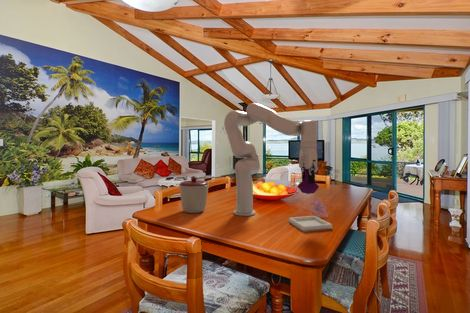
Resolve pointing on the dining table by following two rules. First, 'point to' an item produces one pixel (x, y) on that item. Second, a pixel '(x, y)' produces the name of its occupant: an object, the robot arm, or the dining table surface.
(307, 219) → the tray
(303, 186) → the perfume bottle
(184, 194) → the canister
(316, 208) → the lily
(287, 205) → the dining table surface
